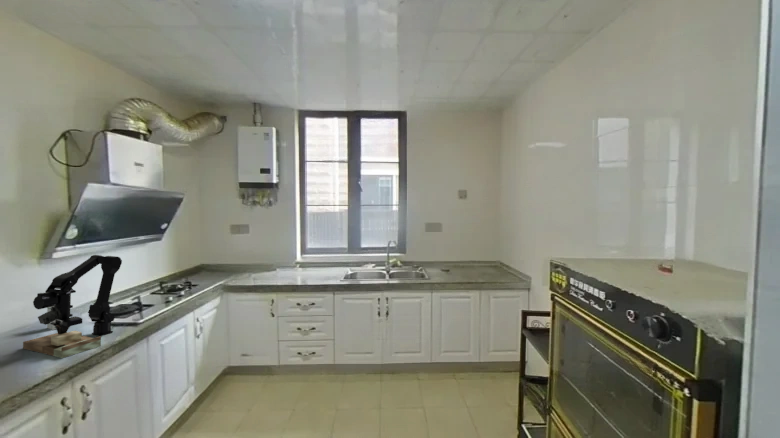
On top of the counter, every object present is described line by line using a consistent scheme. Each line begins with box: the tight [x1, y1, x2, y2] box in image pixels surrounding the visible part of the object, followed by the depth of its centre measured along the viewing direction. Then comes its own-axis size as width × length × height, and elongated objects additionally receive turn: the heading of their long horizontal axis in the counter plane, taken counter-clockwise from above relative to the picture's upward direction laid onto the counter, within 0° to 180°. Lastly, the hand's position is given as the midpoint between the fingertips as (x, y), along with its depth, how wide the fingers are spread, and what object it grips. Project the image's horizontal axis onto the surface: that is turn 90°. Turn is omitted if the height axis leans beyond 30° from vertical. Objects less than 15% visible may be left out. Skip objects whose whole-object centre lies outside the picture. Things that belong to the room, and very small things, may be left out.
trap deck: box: [22, 331, 102, 359], centre depth 177 cm, size 16×26×4 cm, turn 72°
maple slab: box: [51, 330, 83, 346], centre depth 176 cm, size 10×5×4 cm, turn 157°
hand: (61, 337), depth 177 cm, fingers closed
